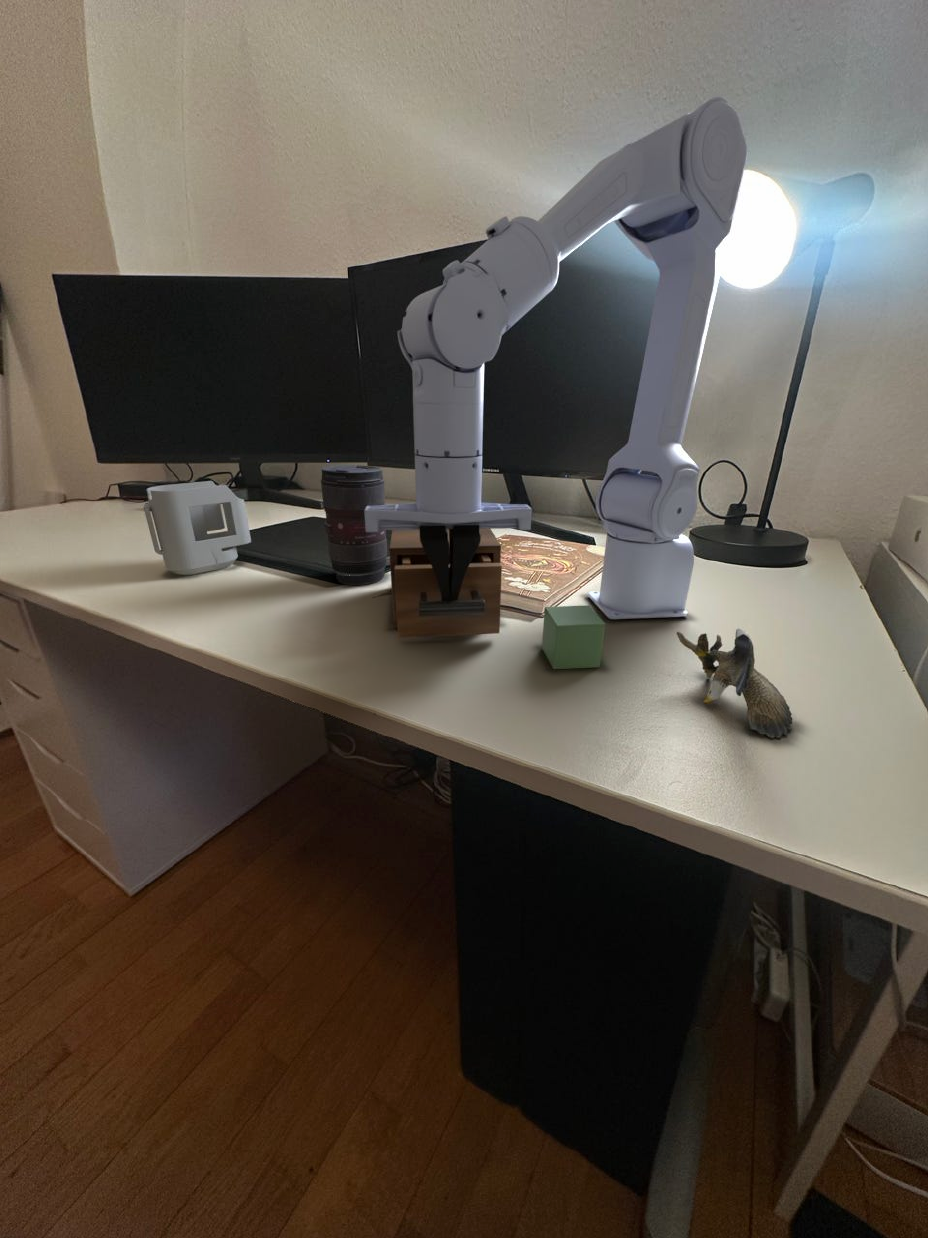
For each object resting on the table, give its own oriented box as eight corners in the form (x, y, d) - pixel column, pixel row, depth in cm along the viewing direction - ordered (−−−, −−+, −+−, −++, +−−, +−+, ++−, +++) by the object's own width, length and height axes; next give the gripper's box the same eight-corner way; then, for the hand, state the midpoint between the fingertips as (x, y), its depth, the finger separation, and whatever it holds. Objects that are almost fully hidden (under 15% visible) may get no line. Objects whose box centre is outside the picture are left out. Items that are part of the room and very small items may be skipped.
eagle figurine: (650, 671, 43) (722, 712, 35) (695, 601, 42) (780, 625, 34) (711, 706, 45) (793, 754, 37) (754, 640, 45) (848, 673, 36)
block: (584, 645, 50) (589, 605, 48) (600, 667, 46) (605, 623, 44) (541, 647, 50) (544, 606, 48) (553, 669, 46) (557, 625, 44)
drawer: (506, 653, 47) (509, 580, 44) (397, 657, 46) (392, 584, 43) (483, 591, 62) (484, 534, 59) (400, 593, 61) (397, 536, 58)
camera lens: (371, 590, 65) (362, 473, 59) (319, 583, 67) (305, 469, 61) (400, 572, 72) (394, 465, 66) (352, 566, 74) (342, 462, 68)
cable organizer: (257, 563, 75) (243, 483, 71) (168, 582, 67) (145, 493, 63) (240, 554, 80) (225, 478, 75) (154, 571, 72) (132, 487, 67)
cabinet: (498, 624, 55) (501, 545, 51) (394, 628, 54) (389, 548, 50) (482, 583, 67) (483, 517, 64) (397, 586, 66) (393, 519, 63)
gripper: (523, 450, 46) (515, 587, 51) (365, 450, 44) (375, 591, 50) (541, 458, 39) (530, 614, 45) (357, 458, 38) (369, 619, 43)
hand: (449, 604), depth 47 cm, fingers closed, pressing on drawer
